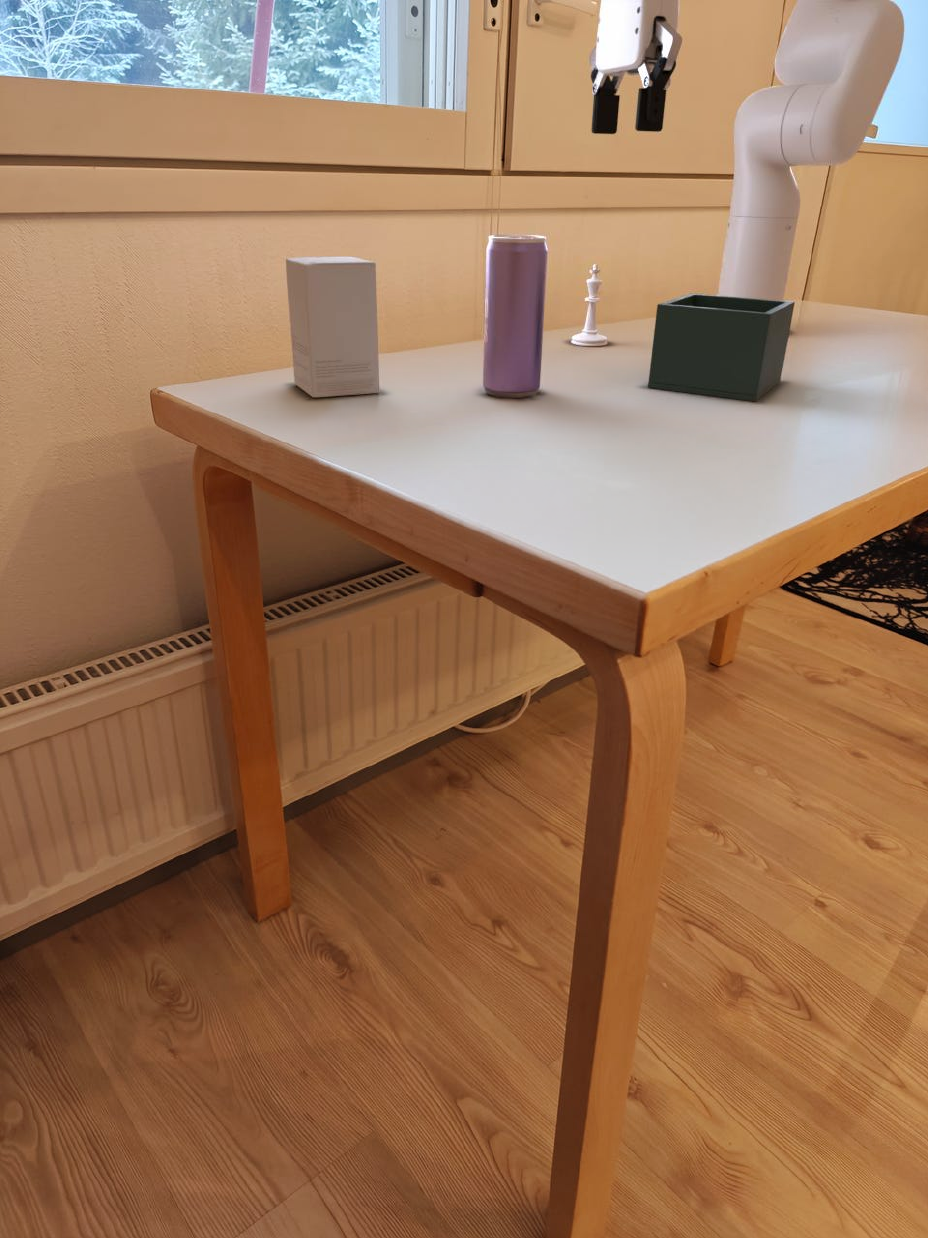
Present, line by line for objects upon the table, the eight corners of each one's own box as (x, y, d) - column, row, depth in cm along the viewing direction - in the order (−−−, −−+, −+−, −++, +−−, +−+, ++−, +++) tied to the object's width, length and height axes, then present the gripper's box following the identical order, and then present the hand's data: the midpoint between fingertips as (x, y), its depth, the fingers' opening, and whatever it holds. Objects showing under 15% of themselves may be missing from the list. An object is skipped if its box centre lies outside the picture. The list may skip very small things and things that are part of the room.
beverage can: (541, 399, 88) (550, 238, 81) (482, 398, 88) (486, 237, 81) (537, 386, 93) (546, 234, 86) (482, 385, 93) (486, 233, 86)
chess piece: (563, 342, 118) (569, 263, 113) (586, 338, 121) (592, 261, 117) (592, 347, 115) (598, 266, 110) (614, 343, 118) (621, 264, 113)
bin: (680, 369, 103) (690, 293, 99) (780, 381, 98) (794, 301, 94) (647, 387, 94) (657, 304, 90) (755, 401, 89) (770, 313, 85)
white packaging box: (381, 393, 89) (378, 261, 83) (311, 399, 86) (302, 262, 80) (359, 379, 95) (354, 254, 89) (292, 384, 92) (283, 256, 86)
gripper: (721, -67, 86) (697, 131, 93) (628, -35, 100) (615, 135, 108) (656, -76, 83) (637, 129, 91) (571, -41, 97) (561, 133, 105)
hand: (625, 132), depth 99 cm, fingers open, 9 cm apart
